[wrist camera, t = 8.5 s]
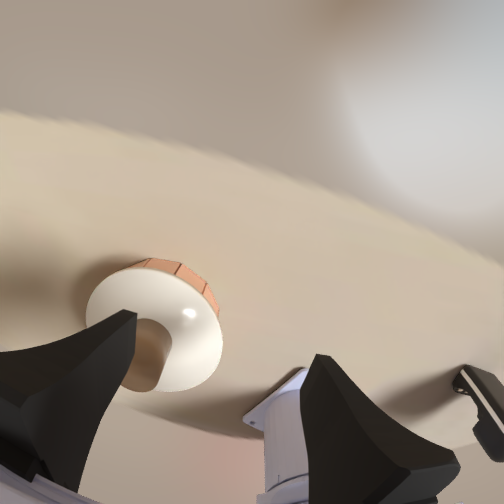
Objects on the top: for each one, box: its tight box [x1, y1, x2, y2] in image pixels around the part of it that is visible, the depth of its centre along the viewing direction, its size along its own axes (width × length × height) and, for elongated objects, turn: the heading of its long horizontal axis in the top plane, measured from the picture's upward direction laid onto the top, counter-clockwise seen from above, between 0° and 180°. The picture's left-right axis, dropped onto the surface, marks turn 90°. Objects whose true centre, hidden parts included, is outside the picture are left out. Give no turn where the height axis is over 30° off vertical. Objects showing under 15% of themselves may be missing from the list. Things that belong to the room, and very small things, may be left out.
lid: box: [86, 267, 223, 392], centre depth 17 cm, size 9×9×4 cm
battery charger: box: [452, 365, 504, 462], centre depth 19 cm, size 7×4×11 cm, turn 65°
